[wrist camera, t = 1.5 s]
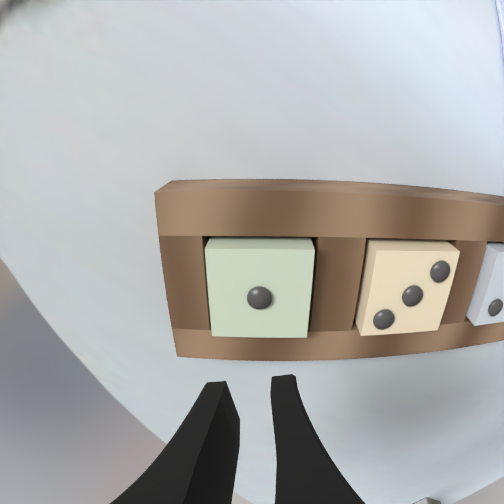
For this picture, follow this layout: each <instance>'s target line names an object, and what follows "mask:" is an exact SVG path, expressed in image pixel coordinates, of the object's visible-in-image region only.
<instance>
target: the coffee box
mask: <svg viewBox="0 0 504 504" xmlns="http://www.w3.org/2000/svg"><path fill="white" fill-rule="evenodd" d="M414 504H441V503H440V502H438V501H435V500H432V499H428V498H424V499H422V500H420V501H418V502H416V503H414Z"/></svg>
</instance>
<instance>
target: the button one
mask: <svg viewBox="0 0 504 504" xmlns="http://www.w3.org/2000/svg"><path fill="white" fill-rule="evenodd" d="M314 254H315V249H314V246H313V243H312V241H311V238H310V237H296V236H211V237H210V239H209V241H208V243H207V245H206V247H205V258H206V272H207V285H208V297H209V308H210V319H211V330H212V336H222V337H260V338H307V330H308V321H309V311H310V301H311V290H312V279H313V267H314Z"/></svg>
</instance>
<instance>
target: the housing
mask: <svg viewBox="0 0 504 504" xmlns="http://www.w3.org/2000/svg"><path fill="white" fill-rule="evenodd" d="M154 195H155V206H156V216H157V226H158V235H159V243H160V252H161V260H162V267H163V274H164V281H165V288H166V295H167V301H168V308H169V314H170V320H171V326H172V331H173V337H174V342H175V348H176V353H177V357H188V358H203V359H222V360H251V361H311V360H340V359H358V358H373V357H386V356H397V355H407V354H417V353H425V352H433V351H441V350H448V349H455V348H462V347H468V346H474V345H480V344H486V343H491V342H496V341H502V340H504V322H499V323H492V324H485V325H478V326H474V325H473V324H472V322H471V321H470V320H469V319H468V317H467V316H466V314H467V311H468V308H469V305H470V302H471V299H472V296H473V292H474V289H475V286H476V282H477V279H478V276H479V272H480V268H481V265H482V261H483V257H484V253H485V249H486V244H487V241H495V242H504V197H502V196H495V195H488V194H481V193H473V192H465V191H457V190H448V189H439V188H429V187H419V186H408V185H395V184H382V183H367V182H349V181H327V180H294V179H210V180H178V181H171V182H169V183H168V184H166V185H165V186H163V187H162V188H160V189H159V190H157V191H156V192H154ZM211 236H296V237H310V238H311V241H312V243H313V246H314V249H315V254H314V267H313V279H312V290H311V301H310V311H309V321H308V330H307V338H260V337H222V336H212V330H211V319H210V308H209V297H208V285H207V272H206V258H205V247H206V245H207V243H208V241H209V239H210V237H211ZM366 238H402V239H438V240H446V241H448V242H449V243H450V244H451V245H453V246H454V247H455V248H456V249H457V250H459V251H460V254H459V258H458V262H457V266H456V270H455V274H454V278H453V282H452V285H451V289H450V292H449V296H448V299H447V303H446V306H445V309H444V312H443V315H442V319H441V322H440V325H439V327H438V330H434V331H424V332H413V333H400V334H385V335H368V336H361V335H360V333H359V330H358V327H357V325H356V322H355V320H354V314H355V308H356V303H357V297H358V291H359V285H360V278H361V272H362V265H363V258H364V251H365V243H366Z"/></svg>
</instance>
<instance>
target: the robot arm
mask: <svg viewBox="0 0 504 504" xmlns="http://www.w3.org/2000/svg"><path fill="white" fill-rule="evenodd" d="M495 1H496V6H497V11H498V17H499V23H500V30H501V37H502V46H503V56H504V0H495ZM271 405H272V415H273V424H274V434H275V443H276V456H277V472H276V495H275V504H365V503H364V502H363V501H362V499H361V498H360V497H359V496H358V495H357V494H356V492H355V491H354V490H353V489H352V487H351V486H350V485H349V483H348V482H347V481H346V479H345V478H344V477H343V475H342V474H341V473H340V471H339V470H338V468H337V467H336V465H335V464H334V462H333V461H332V459H331V458H330V456H329V454H328V453H327V451H326V449H325V448H324V446H323V444H322V443H321V441H320V439H319V437H318V435H317V434H316V432H315V430H314V428H313V426H312V423H311V421H310V419H309V417H308V415H307V413H306V410H305V408H304V406H303V403H302V400H301V397H300V394H299V391H298V388H297V382H296V376H294V375H292V374H290V375H282V376H274V377H272V381H271ZM239 446H240V418H239V416H238V413H237V410H236V408H235V405H234V402H233V399H232V397H231V394H230V391H229V388H228V386H227V383H226V381H221V382H207V384H206V385H205V386H204V388H203V390H202V391H201V393H200V395H199V397H198V398H197V400H196V402H195V403H194V405H193V407H192V408H191V410H190V412H189V413H188V415H187V416H186V418H185V419H184V421H183V422H182V424H181V425H180V427H179V428H178V430H177V431H176V433H175V434H174V436H173V437H172V439H171V440H170V441H169V443H168V444H167V445H166V447H165V448H164V449H163V451H162V452H161V453H160V454H159V456H158V457H157V458H156V459H155V461H154V462H153V463H152V464H151V465H150V466H149V467H148V469H147V470H146V471H145V472H144V473H143V474H142V475H141V476H140V477H139V478H138V479H137V480H136V481H135V482H134V483H133V484H132V485H131V486H130V487H129V488H128V489H127V490H126V491H125V492H123V493H122V494H121V495H120V496H119V497H118V498H116V499H115V500H114V501H113V502H111V503H110V504H231V501H232V494H233V488H234V481H235V474H236V468H237V461H238V454H239Z"/></svg>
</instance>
